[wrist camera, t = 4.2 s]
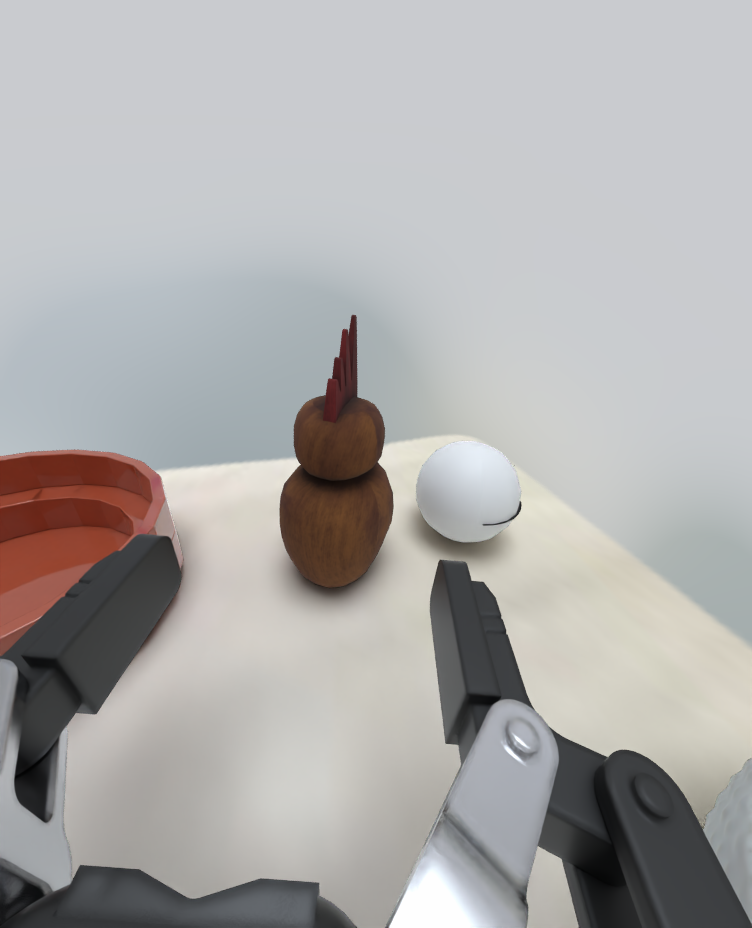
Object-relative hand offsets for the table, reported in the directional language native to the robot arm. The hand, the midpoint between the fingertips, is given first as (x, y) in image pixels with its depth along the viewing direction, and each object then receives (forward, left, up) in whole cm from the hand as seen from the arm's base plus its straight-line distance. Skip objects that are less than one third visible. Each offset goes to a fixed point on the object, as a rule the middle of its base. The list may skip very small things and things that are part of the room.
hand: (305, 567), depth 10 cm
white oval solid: (+10, +14, -9) cm, 19 cm away
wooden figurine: (0, +9, -9) cm, 13 cm away
